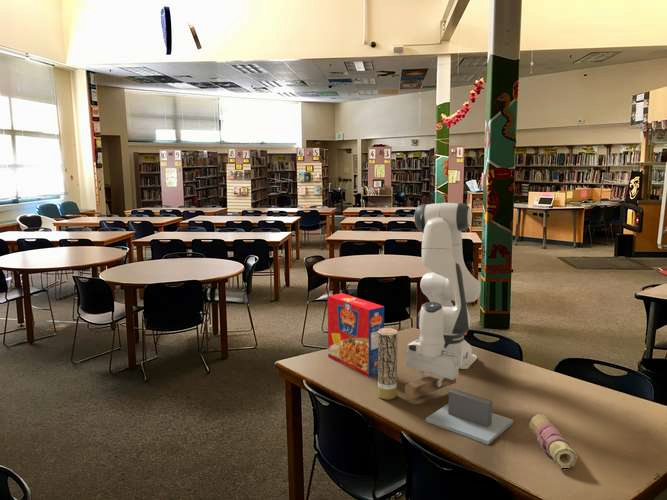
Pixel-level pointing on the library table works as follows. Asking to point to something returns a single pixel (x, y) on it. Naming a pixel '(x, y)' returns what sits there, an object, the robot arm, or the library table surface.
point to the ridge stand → (470, 417)
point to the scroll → (552, 441)
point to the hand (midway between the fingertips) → (431, 383)
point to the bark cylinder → (387, 363)
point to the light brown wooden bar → (425, 386)
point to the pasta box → (354, 332)
